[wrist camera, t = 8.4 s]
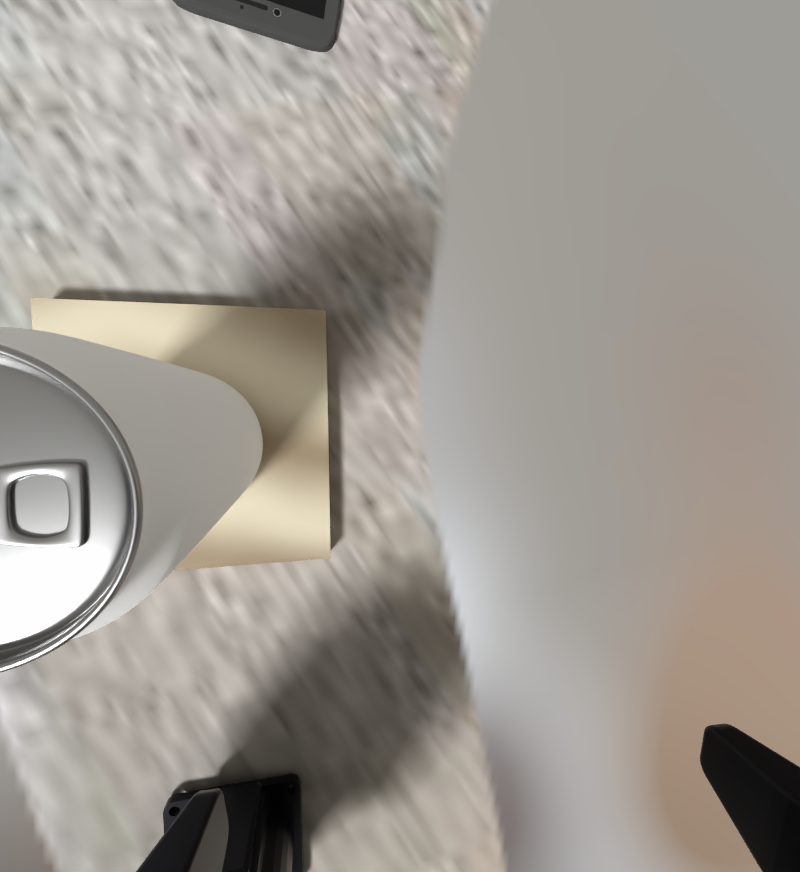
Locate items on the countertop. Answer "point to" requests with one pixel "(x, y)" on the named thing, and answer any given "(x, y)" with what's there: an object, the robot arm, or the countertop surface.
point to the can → (105, 481)
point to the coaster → (261, 387)
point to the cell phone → (276, 18)
